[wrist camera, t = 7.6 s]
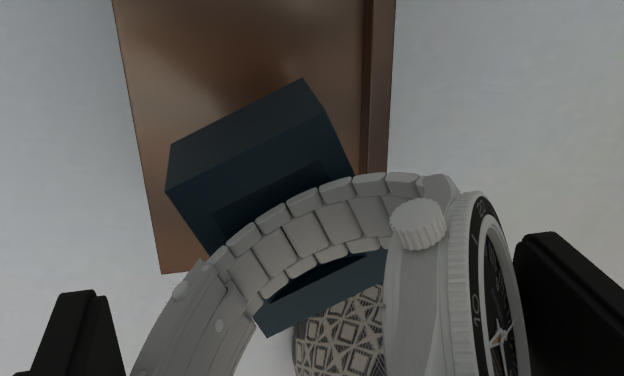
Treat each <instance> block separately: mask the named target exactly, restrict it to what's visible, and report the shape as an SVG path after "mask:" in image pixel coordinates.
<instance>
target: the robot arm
mask: <svg viewBox="0 0 624 376" xmlns="http://www.w3.org/2000/svg"><path fill="white" fill-rule="evenodd" d="M512 264H513V268H514V272H515V276H516V281H517V285H518V290H519V295H520V300H521V305H522V311H523V317H524V323H525V329H526V336H527V343H528V351H529V360H530V369H531V376H624V289H622V288H621V287H620V286H619V285H618V284H616V283H615V282H614V281H613V280H612V279H611V278H609V277H608V276H607V275H606V274H605V273H603V272H602V271H601V270H600V269H599V268H598V267H596V266H595V265H594V264H593V263H592V262H590V261H589V260H588V259H587V258H586V257H584V256H583V255H582V254H581V253H580V252H579V251H577V250H576V249H575V248H574V247H573V246H571V245H570V244H569V243H568V242H567V241H566V240H564V239H563V238H562V237H561V236H560V235H558V234H557V233H555V232H551V231H550V232H542V233H534V234H527V235H525V236H524V238H523V239H522V242H519V243H518V244H517V245H516V248H515V253H514V258H513V263H512ZM13 376H126V373H125V369H124V365H123V361H122V357H121V353H120V349H119V345H118V340H117V336H116V332H115V328H114V324H113V320H112V316H111V312H110V308H109V304H108V300H107V298H106V296H97V295H96V293H95V291H94V290H92V289H91V290H83V291H75V292H67V293H61V294H60V295H59V297H58V299H57V301H56V304H55V306H54V309H53V312H52V314H51V317H50V320H49V322H48V325H47V327H46V330H45V333H44V335H43V338H42V340H41V343H40V346H39V348H38V351H37V353H36V356H35V359H34V361H33V364H32V367H31V369H30V371H24V372H18V373H15V374H14V375H13Z"/></svg>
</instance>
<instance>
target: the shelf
mask: <svg viewBox="0 0 624 376" xmlns="http://www.w3.org/2000/svg"><path fill="white" fill-rule="evenodd" d="M111 1H112V6H113V12H114V17H115V23H116V28H117V34H118V39H119V45H120V50H121V56H122V61H123V67H124V72H125V78H126V83H127V89H128V94H129V100H130V105H131V111H132V116H133V122H134V127H135V133H136V138H137V144H138V149H139V155H140V160H141V166H142V171H143V177H144V182H145V188H146V193H147V199H148V204H149V210H150V215H151V221H152V226H153V232H154V237H155V243H156V248H157V254H158V259H159V265H160V270H161V274H162V275H163V274H170V273H178V272H186V271H190V270H191V268H192V267H193V266H194V265H195V263H196V262H197V261H198V259H199V258H201V259H202V260H203V262H206V261H207V260H208V259H209V258H210V256H209V255H208V253H207V252H206V251H205V249H204V248H203V246H202V245H201V243H200V242H199V241H198V239H197V238H196V236H195V235H194V233H193V232H192V231H191V229H190V228H189V226H188V225H187V223H186V222H185V221H184V219H183V218H182V216H181V215H180V213H179V212H178V211H177V209H176V208H175V206H174V205H173V203H172V202H171V201H170V199H169V198H168V196H167V195H166V193H165V192H164V191H165V183H166V176H167V168H168V161H169V153H170V145H171V144H172V143H174V142H176V141H178V140H180V139H182V138H184V137H185V136H187V135H189V134H191V133H193V132H195V131H197V130H199V129H201V128H203V127H205V126H207V125H209V124H211V123H213V122H215V121H217V120H219V119H221V118H223V117H225V116H227V115H229V114H231V113H233V112H235V111H237V110H239V109H241V108H243V107H245V106H247V105H249V104H251V103H253V102H255V101H257V100H259V99H261V98H263V97H265V96H267V95H268V94H270V93H272V92H274V91H276V90H278V89H280V88H282V87H284V86H286V85H288V84H290V83H292V82H294V81H296V80H298V79H300V78H302V77H303V79H304V80H305V82H306V83H307V85H308V86H309V87H310V89H311V90H312V92H313V93H314V95H315V96H316V97H317V99H318V100H319V102H320V103H321V105H322V106H323V107H324V109H325V110H326V112H327V114H328V117H329V119H330V121H331V123H332V125H333V127H334V130H335V132H336V134H337V136H338V138H339V141H340V143H341V145H342V147H343V149H344V151H345V154H346V156H347V158H348V160H349V162H350V165H351V167H352V169H353V171H354V173H355V175H356V176H357V175H363V174H369V173H378V172H385V173H386V174H387V156H388V138H389V120H390V102H391V83H392V65H393V47H394V29H395V11H396V0H111Z"/></svg>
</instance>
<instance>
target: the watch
mask: <svg viewBox="0 0 624 376" xmlns="http://www.w3.org/2000/svg"><path fill="white" fill-rule="evenodd" d="M164 192H165V193H166V195H167V196H168V198H169V199H170V201H171V202H172V203H173V205H174V206H175V208H176V209H177V211H178V212H179V213H180V215H181V216H182V218H183V219H184V221H185V222H186V223H187V225H188V226H189V228H190V229H191V231H192V232H193V233H194V235H195V236H196V238H197V239H198V241H199V242H200V243H201V245H202V246H203V248H204V249H205V251H206V252H207V253H208V255H209V256H210V258H209V259H208V260H207V261H206V262H203V260H202V259H201V258H199V259H198V261H197V262H196V263H195V265H194V266H193V267H192V268H191V270H190V271H189V272H188V274H187V275H186V277H185V278H184V279H183V281H182V282H181V283H179V284H178V285H177V286H176V288H175V289H174V291H173V293H172V297H171V298H170V300H169V301H168V303H167V305H166V306H165V308H164V309H163V311H162V313H161V314H160V316H159V317H158V319H157V321H156V323H155V324H154V326H153V328H152V330H151V332H150V334H149V336H148V338H147V340H146V342H145V344H144V345H143V348H142V350H141V352H140V354H139V356H138V358H137V360H136V362H135V364H134V367H133V369H132V371H131V374H130V376H233V374H234V372H235V369H236V367H237V365H238V363H239V361H240V359H241V357H242V354H243V352H244V350H245V349H246V347H247V345H248V343H249V341H250V339H251V337H252V335H253V334H254V332H255V330H256V325H255V323H254V321H255V322H256V323H257V325H258V326H259V328H260V329H261V331H262V332H263V333H264V335H265V336H266V338H269V337H271V336H273V335H275V334H277V333H279V332H281V331H283V330H285V329H287V328H289V327H291V326H293V325H295V324H297V323H299V322H301V321H303V320H305V319H307V318H309V317H311V316H313V315H316V314H318V313H320V312H322V311H324V310H326V309H328V308H330V307H332V306H334V305H336V304H338V303H340V302H342V301H344V300H346V299H348V298H350V297H352V296H354V295H356V294H358V293H360V292H362V291H364V290H366V289H368V288H371V287H373V286H375V285H377V284H379V283H381V282H383V291H382V338H383V351H384V360H385V368H386V374H387V376H531V369H530V360H529V351H528V343H527V336H526V329H525V323H524V317H523V311H522V305H521V300H520V295H519V290H518V285H517V281H516V276H515V272H514V268H513V264H512V260H511V257H510V253H509V249H508V246H507V242H506V239H505V236H504V233H503V230H502V227H501V224H500V221H499V219H498V216H497V214H496V212H495V210H494V208H493V206H492V205H491V203H490V201H489V200H488V198H487V197H486V196H485V195H484V194H483V193H482V192H480V191H473V192H467V193H463V194H461V193H460V191H459V190H458V188H457V187H456V185H455V184H454V183H453V181H452V180H451V178H450V177H449V176H447V175H444V174H437V175H431V176H421V177H420V175H418V174H414V173H402V172H392V173H388V174H387V175H386V173H385V172H378V173H369V174H363V175H357V176H356V175H355V173H354V171H353V169H352V167H351V165H350V162H349V160H348V158H347V156H346V154H345V151H344V149H343V147H342V145H341V143H340V141H339V138H338V136H337V134H336V132H335V130H334V127H333V125H332V123H331V121H330V119H329V117H328V114H327V112H326V110H325V109H324V107H323V106H322V105H321V103H320V102H319V100H318V99H317V97H316V96H315V95H314V93H313V92H312V90H311V89H310V87H309V86H308V85H307V83H306V82H305V80H304V79H303V77H302V78H300V79H298V80H296V81H294V82H292V83H290V84H288V85H286V86H284V87H282V88H280V89H278V90H276V91H274V92H272V93H270V94H268V95H267V96H265V97H263V98H261V99H259V100H257V101H255V102H253V103H251V104H249V105H247V106H245V107H243V108H241V109H239V110H237V111H235V112H233V113H231V114H229V115H227V116H225V117H223V118H221V119H219V120H217V121H215V122H213V123H211V124H209V125H207V126H205V127H203V128H201V129H199V130H197V131H195V132H193V133H191V134H189V135H187V136H185V137H184V138H182V139H180V140H178V141H176V142H174V143H172V144H171V145H170V153H169V161H168V168H167V176H166V183H165V191H164ZM252 318H253V319H254V321H253V320H252Z"/></svg>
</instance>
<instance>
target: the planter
mask: <svg viewBox="0 0 624 376" xmlns="http://www.w3.org/2000/svg"><path fill="white" fill-rule="evenodd" d="M382 291H383V282H381V283H379V284H377V285H375V286H373V287H371V288H368V289H366V290H364V291H362V292H360V293H358V294H356V295H354V296H352V297H350V298H348V299H346V300H344V301H342V302H340V303H338V304H336V305H334V306H332V307H330V308H328V309H326V310H324V311H322V312H320V313H318V314H316V315H313V316H311V317H309V318H307V319H305V320H303V321H301V322H299V323H298V325H297V327H296V330H295V333H294V336H293V342H292V358H293V363H294V367H295V372H296V376H387V374H386V368H385V360H384V351H383V338H382Z"/></svg>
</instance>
